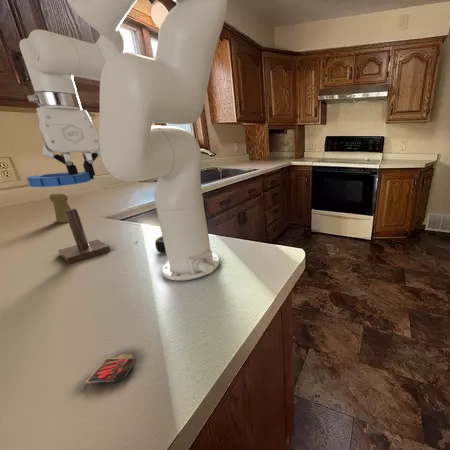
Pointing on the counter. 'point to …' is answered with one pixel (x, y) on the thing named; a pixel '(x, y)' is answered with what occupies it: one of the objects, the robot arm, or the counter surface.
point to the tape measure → (160, 245)
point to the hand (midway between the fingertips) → (83, 179)
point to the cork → (60, 206)
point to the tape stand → (80, 241)
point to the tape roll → (57, 179)
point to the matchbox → (112, 369)
